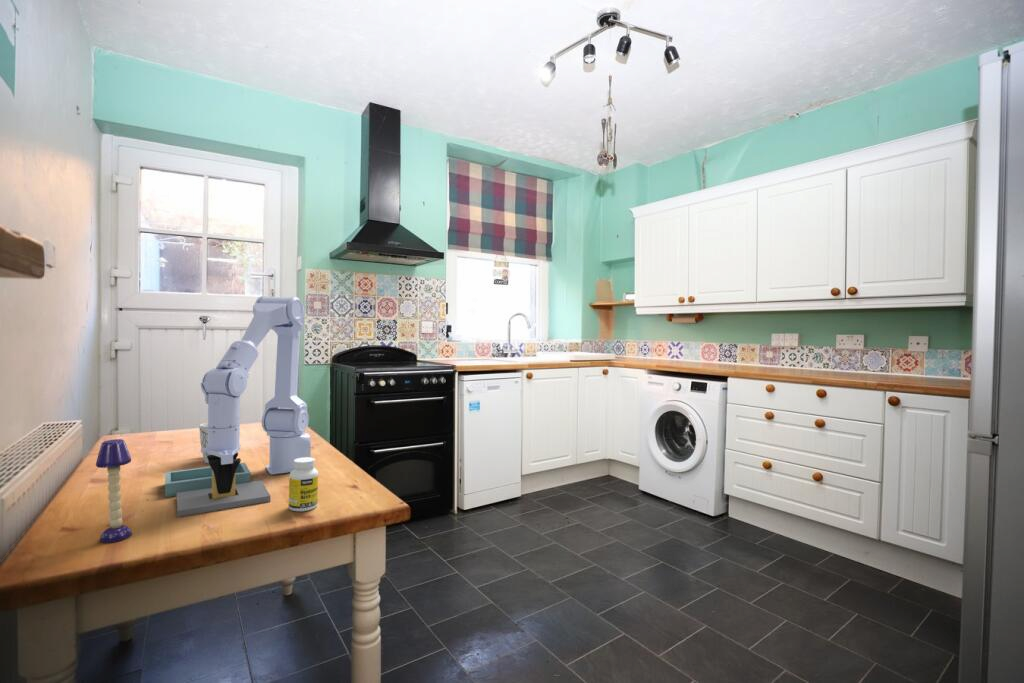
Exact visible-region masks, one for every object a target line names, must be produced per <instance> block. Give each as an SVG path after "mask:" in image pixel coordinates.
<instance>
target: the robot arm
mask: <svg viewBox="0 0 1024 683" xmlns="http://www.w3.org/2000/svg"><path fill="white" fill-rule="evenodd" d="M252 313H253V317H252V319H251V321H250V322H249V325H248V327H247V328H246V331H245V333H243V336H242V338H241V340H236V341H233V342H232V343H231V345H230V346H229V347H228V349H227V351H226V352H225V354H224V355H223V356H222V358H221V360H220V361H219V363H218V364H217V366H215V368H212V369H210V370H209V371H206V373H204V375H203V377H202V382H201V383H200V389H201V391H202V393H203V394H204V401H205V404H207V422H208V447H207V448H201V449H200V453H201V454H202V453H209V454H212V455H208V456H207V459H208V460H209V463H208V465H209V467H211V468H212V470H213V472H214V475H215V480H216V486H217V490H218V493H219V494H223V493H230V491H231V488H232V483H233V479H234V475H235V472H236V469H237V467H238V466H239V464H240V463H242V462H241V461H242V460H241V458H237V457H238V455H239V453H238V452H239V451H240V450H241V444H240V435H241V434H240V433H241V432H240V430H241V429H240V422H241V421H240V419H241V418H240V417H241V412H240V411H241V410H240V409H241V407H240V405H241V404H240V403H241V402H240V401H241V400H240V399H241V395H242V394H243V393H244V392H245V391H246V389H247V385H248V379H249V371H250V370H251V368H252V367H253V365H254V363H255V362H256V360H257V358H258V356H259V350H258V347H259V345H260V344H261V342H262V341H263V340H264V339H265V337H266V336H267V334H268V333H269V332H270V331H271V330H272V331H274V332H275V334H276V336H277V341H276V342H277V345H276V361H275V362H276V363H275V381H274V396H273V397H272V398H271V399H270V400H269V401H267V402H266V403H264V404H265V405H264V411H263V414H262V417H261V427H262V429H263V431H264V432H265V433H266V436H268V437H269V464H267V465H265V469H266V471H267V472H268V473H269V475H278V474H287V473H291V471H293V470H294V469H295V468H294V466H293V465H294V460H295V459H297V458H303V457H311V451H312V450H311V446H312V445H311V442H312V441H311V437H310V434H309V433H308V432H305V431H306V430H307V428H308V426H309V424H310V423H309V422H310V418H309V417H310V416H309V413H308V404H307V402H305V401H304V400H302V399H301V398H300V397H299V396H298V380H299V379H298V378H299V358H300V340H301V339H300V338H301V331H303V330H304V323H305V322H304V321H305V306H304V304H303V302H302V301H301V299H300V298H299V297H297V296H292V297H291V296H263V295H260V296H259V297H257V298H256V301H255V303H254V304H253V306H252ZM311 458H312V457H311Z"/></svg>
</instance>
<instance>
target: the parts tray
mask: <svg viewBox="0 0 1024 683" xmlns="http://www.w3.org/2000/svg"><path fill="white" fill-rule="evenodd" d="M247 482H251V471H250V469H249V467H248V466H247V463H246V462H240V464H239V466H238V467H237V469H236V472H235V484H241V483H247ZM206 488H212V468H211V467H210V466H205V467H199V468H189V469H181V470H174V471H173V470H172V471H165V473H164V498H170V497H171V498H172V497H175V496H176V497H177V493H178V492H185V491H192V490H199V489H206Z"/></svg>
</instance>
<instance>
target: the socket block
mask: <svg viewBox="0 0 1024 683" xmlns="http://www.w3.org/2000/svg"><path fill="white" fill-rule="evenodd" d="M267 502H268V503H269V502H271V494H270V492H269V491H268V490H267V488H266V486H265V484H264V482H263V481H262V480H255V481H250V482H247V483H241V484H235V496H229V497H222V498H216V499H212V488H206V489H199V490H192V491H185V492H178V493H177V496H176V511H177V512H176V514H177V517H178V518H182V517H186V516H193V515H198V514H203V513H204V514H205V513H209V512H215V511H221V510H227V509H234V508H238V507H239V508H240V507H246V506H251V505H258V504H264V503H267Z"/></svg>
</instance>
